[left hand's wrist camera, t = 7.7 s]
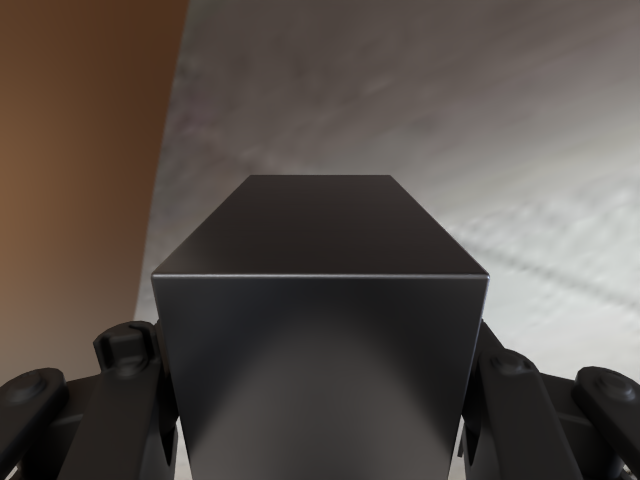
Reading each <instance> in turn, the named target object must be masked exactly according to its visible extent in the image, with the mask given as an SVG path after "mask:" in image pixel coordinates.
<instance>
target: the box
mask: <svg viewBox="0 0 640 480" xmlns="http://www.w3.org/2000/svg"><path fill="white" fill-rule="evenodd" d="M489 281H490V276H489V273H488V272H487V271H486V270H485V269H484V268H483V267H482V266H481V265H480V264H479V263H478V262H477V261H476V260H475V259H474V258H473V257H472V256H471V255H470V254H469V253H468V252H467V251H466V250H465V249H464V248H463V247H462V246H461V245H460V244H459V243H458V242H457V241H456V240H455V239H454V238H453V237H452V236H451V235H450V234H449V233H448V232H447V231H446V230H445V229H444V228H443V227H442V226H441V225H440V224H439V223H438V222H437V221H436V220H435V219H434V218H433V217H432V216H431V215H430V214H429V213H428V212H427V211H426V210H425V209H424V208H423V207H422V206H421V205H420V204H419V203H418V202H417V201H416V200H415V199H414V198H413V197H412V196H411V195H410V194H409V193H408V192H407V191H406V190H405V189H404V188H403V187H402V186H401V185H400V184H399V183H398V182H397V181H396V180H395V179H394V178H393V177H392V176H390V175H250V176H249V177H248V178H247V179H246V180H245V181H244V182H243V183H242V184H241V185H240V186H239V187H238V188H237V189H236V190H235V191H234V192H233V193H232V194H231V195H230V196H229V197H228V198H227V199H226V200H225V201H224V202H223V203H222V204H221V205H220V206H219V207H218V208H217V209H216V210H215V211H214V212H213V213H212V214H211V215H210V216H209V217H208V218H207V219H206V220H205V221H204V222H203V223H202V224H201V225H200V226H199V227H198V228H197V229H196V230H195V231H194V232H193V233H192V234H191V235H190V236H189V237H188V238H187V239H186V240H185V241H184V242H183V243H182V244H181V245H180V246H179V247H178V248H177V249H176V250H175V251H174V252H173V253H172V254H171V255H170V256H169V257H168V258H167V259H166V260H165V261H164V262H163V263H162V264H161V265H160V266H159V267H158V268H157V269H156V270H155V271H154V272H153V273H152V274H151V282H152V287H153V292H154V297H155V301H156V306H157V311H158V316H159V321H160V325H161V330H162V335H163V340H164V344H165V349H166V354H167V359H168V364H169V368H170V373H171V378H172V383H173V388H174V392H175V397H176V402H177V407H178V412H179V416H180V421H181V426H182V431H183V435H184V440H185V445H186V450H187V455H188V459H189V464H190V469H191V474H192V479H193V480H448V475H449V470H450V465H451V461H452V456H453V451H454V446H455V442H456V437H457V432H458V427H459V423H460V418H461V413H462V409H463V404H464V399H465V394H466V390H467V385H468V380H469V375H470V371H471V366H472V361H473V356H474V352H475V347H476V342H477V338H478V333H479V328H480V323H481V319H482V314H483V309H484V304H485V300H486V295H487V290H488V286H489Z"/></svg>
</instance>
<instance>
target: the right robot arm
mask: <svg viewBox="0 0 640 480" xmlns="http://www.w3.org/2000/svg"><path fill="white" fill-rule="evenodd" d="M629 476H630V477H631V478H632V479H633V480H637V478H636V477H635V475H634V474H629Z"/></svg>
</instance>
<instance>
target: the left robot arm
mask: <svg viewBox="0 0 640 480" xmlns="http://www.w3.org/2000/svg"><path fill="white" fill-rule="evenodd" d="M93 345H94V348H95V352H96V355H97V358H98V362H99V365H100V368H101V373H100V374H98V375H95V376H91V377H86V378H82V379H77V380H73V381H68V382H66V380H65V378H64V375H63V373H62V372H61V371H60V370H58V369H55V368H42V369H36V370H33V371H29V372H26V373H24V374H21V375H19V376H17V377H16V378H14V379H12V380H10V381H8V382H7V383H5V384H4V385H3V386H1V387H0V480H5V478H6V477H7V476H8V475H9V473H10V472H11V471H12V470H13V468H14V467H15V466H17V468H18V470H17V471H16V472H15V474H14V475H13V476H12V477H11V478H10V479H9V480H174V474H175V464H176V453H177V443H178V431H177V426H176V421H177V419H178V417H179V412H178V407H177V402H176V397H175V392H174V388H173V383H172V378H171V373H170V368H169V364H168V359H167V354H166V349H165V344H164V340H163V335H162V330H161V325H160V321H159V320H158V321H157V323H155V325H152V324H151V323H150V322H145V321H130V322H126V323H122V324H119V325H116V326H114V327H112V328H109V329H107V330H106V331H105V332H103V333H102V334H100V335H99V336H98V337H97V338H96V339H95V341H94V342H93ZM461 415H462V417H463V419H464V426H463V431H462V435H461V440H460V444H459V449H458V455H457V456H458V457H462V455H463V453H464V463H465V473H466V480H633V479H632V478H631V477H630V476H629V475H628V474H627V472H626V471H625V470H624V469H623V467H624V465H625V464H626V465H627V467H628V468H629V469H630V470H631V472H632V473H633V474H634V475H635V477H636V478H637V480H640V385H639V384H638V383H636V382H635V381H634V380H632V379H630V378H628V377H626V376H624V375H622V374H621V373H618V372H616V371H612V370H610V369H606V368H601V367H594V366H591V367H583V368H582V369H581V370H579V371H578V373H577V376H576V378H575V381H574V380H570V379H565V378H561V377H556V376H552V375H547V374H544V373H540V372H539V370H538V369H537V368H536V366H535V365H534V363H533V362H531V361H530V360H529V359H528V358H526V357H525V356H523V355H521V354H519V353H517V352H515V351H513V350H509V349H506V348H504V347H503V345H502V344H501V343H500V341H499V340H498V339H497V337H496V336H495V335H494V334H493V332H492V331H491V330H490V328H489V327H488V326H487V324H486V323H485V322H483V319H481V323H480V328H479V333H478V338H477V342H476V347H475V352H474V356H473V361H472V366H471V371H470V375H469V380H468V385H467V390H466V394H465V399H464V404H463V409H462V413H461Z"/></svg>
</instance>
